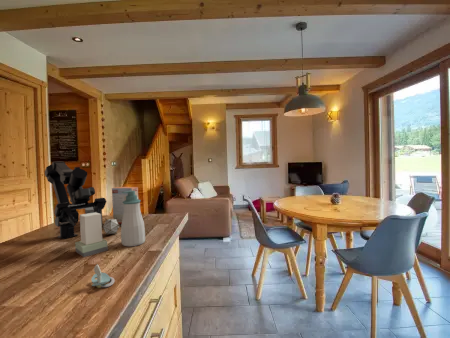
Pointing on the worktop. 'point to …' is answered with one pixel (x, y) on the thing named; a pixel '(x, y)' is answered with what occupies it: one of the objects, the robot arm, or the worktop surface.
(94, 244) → the slab upper
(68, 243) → the worktop surface
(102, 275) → the pacifier
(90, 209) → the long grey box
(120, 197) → the cracker box
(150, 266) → the worktop surface
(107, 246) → the slab lower
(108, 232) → the game die
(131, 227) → the soap bottle
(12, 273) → the worktop surface
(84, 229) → the post
